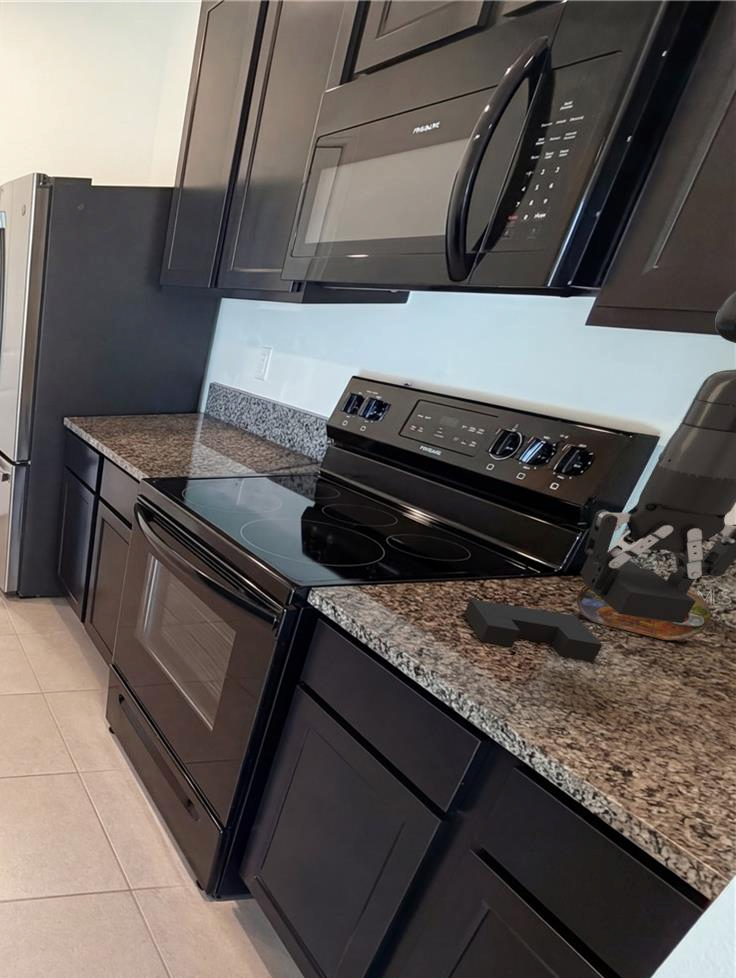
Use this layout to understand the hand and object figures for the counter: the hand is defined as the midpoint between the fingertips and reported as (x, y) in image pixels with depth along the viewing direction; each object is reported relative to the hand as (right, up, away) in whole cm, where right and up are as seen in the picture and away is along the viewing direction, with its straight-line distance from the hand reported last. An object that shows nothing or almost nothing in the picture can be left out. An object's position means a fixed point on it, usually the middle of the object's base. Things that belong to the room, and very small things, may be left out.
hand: (631, 596), depth 82 cm
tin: (+26, -5, +25) cm, 37 cm away
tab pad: (+1, 0, +2) cm, 2 cm away
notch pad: (+6, -6, +22) cm, 24 cm away
